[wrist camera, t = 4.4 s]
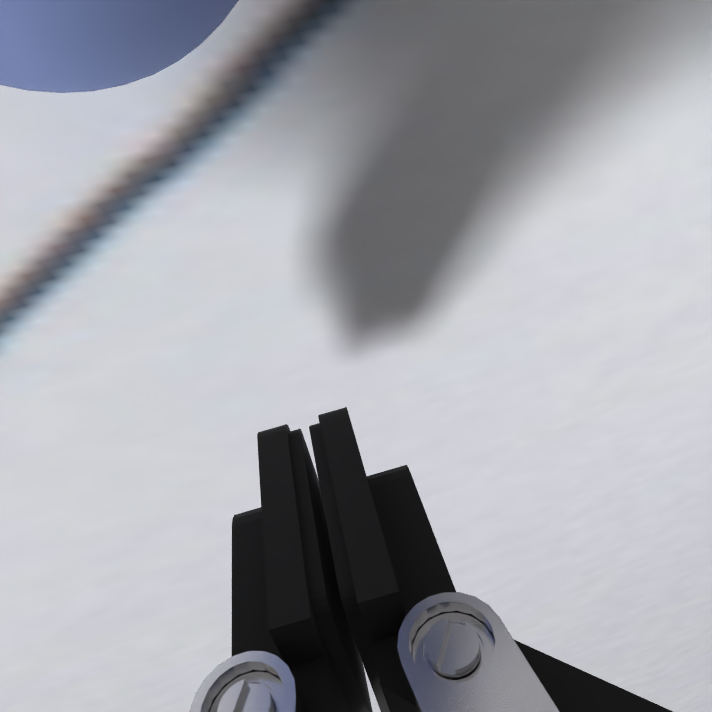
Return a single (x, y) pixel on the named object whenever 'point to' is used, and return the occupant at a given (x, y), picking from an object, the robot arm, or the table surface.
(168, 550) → the table surface
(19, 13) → the slate blue ball
